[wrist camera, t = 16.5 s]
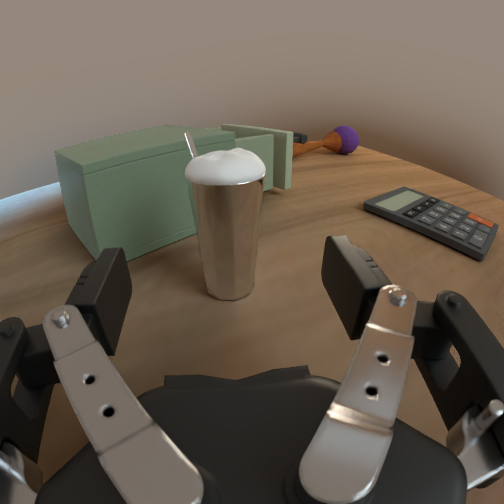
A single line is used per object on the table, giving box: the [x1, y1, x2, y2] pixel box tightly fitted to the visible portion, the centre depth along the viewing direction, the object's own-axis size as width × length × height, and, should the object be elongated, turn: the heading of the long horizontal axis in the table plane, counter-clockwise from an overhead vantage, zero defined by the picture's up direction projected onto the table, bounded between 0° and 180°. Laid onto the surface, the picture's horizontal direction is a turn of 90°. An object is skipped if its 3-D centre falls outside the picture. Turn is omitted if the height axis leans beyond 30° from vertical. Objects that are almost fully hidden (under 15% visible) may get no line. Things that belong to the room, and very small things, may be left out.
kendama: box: [292, 126, 359, 158], centre depth 56 cm, size 6×6×20 cm
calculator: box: [363, 187, 498, 261], centre depth 31 cm, size 12×1×15 cm
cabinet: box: [55, 125, 235, 261], centre depth 28 cm, size 14×13×9 cm
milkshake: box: [185, 132, 266, 300], centre depth 19 cm, size 5×5×10 cm
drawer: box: [209, 124, 307, 191], centre depth 36 cm, size 19×11×7 cm, turn 134°
